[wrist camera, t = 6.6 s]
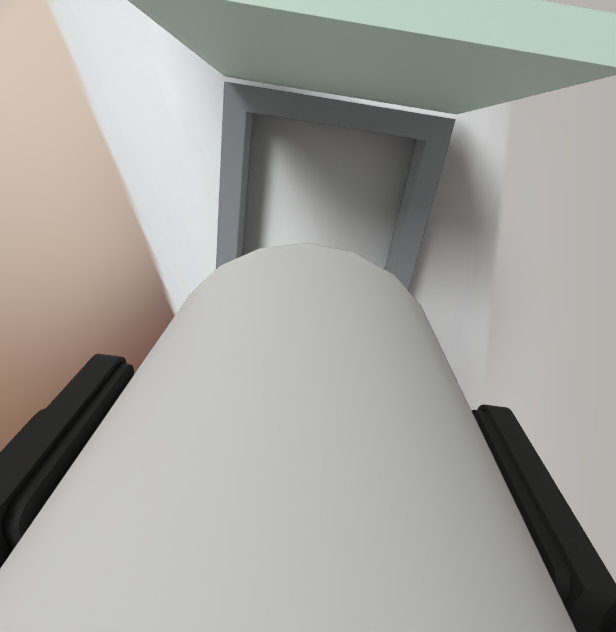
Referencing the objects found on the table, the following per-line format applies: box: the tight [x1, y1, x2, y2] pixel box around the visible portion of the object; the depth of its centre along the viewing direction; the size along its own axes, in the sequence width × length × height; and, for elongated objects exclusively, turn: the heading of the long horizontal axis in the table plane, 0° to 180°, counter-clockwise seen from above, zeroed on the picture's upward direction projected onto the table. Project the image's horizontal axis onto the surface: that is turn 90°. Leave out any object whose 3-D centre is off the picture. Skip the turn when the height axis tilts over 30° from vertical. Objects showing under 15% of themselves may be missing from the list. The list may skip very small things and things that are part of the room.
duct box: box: [216, 82, 456, 290], centre depth 31 cm, size 16×15×3 cm
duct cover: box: [128, 0, 616, 114], centre depth 19 cm, size 16×15×1 cm
